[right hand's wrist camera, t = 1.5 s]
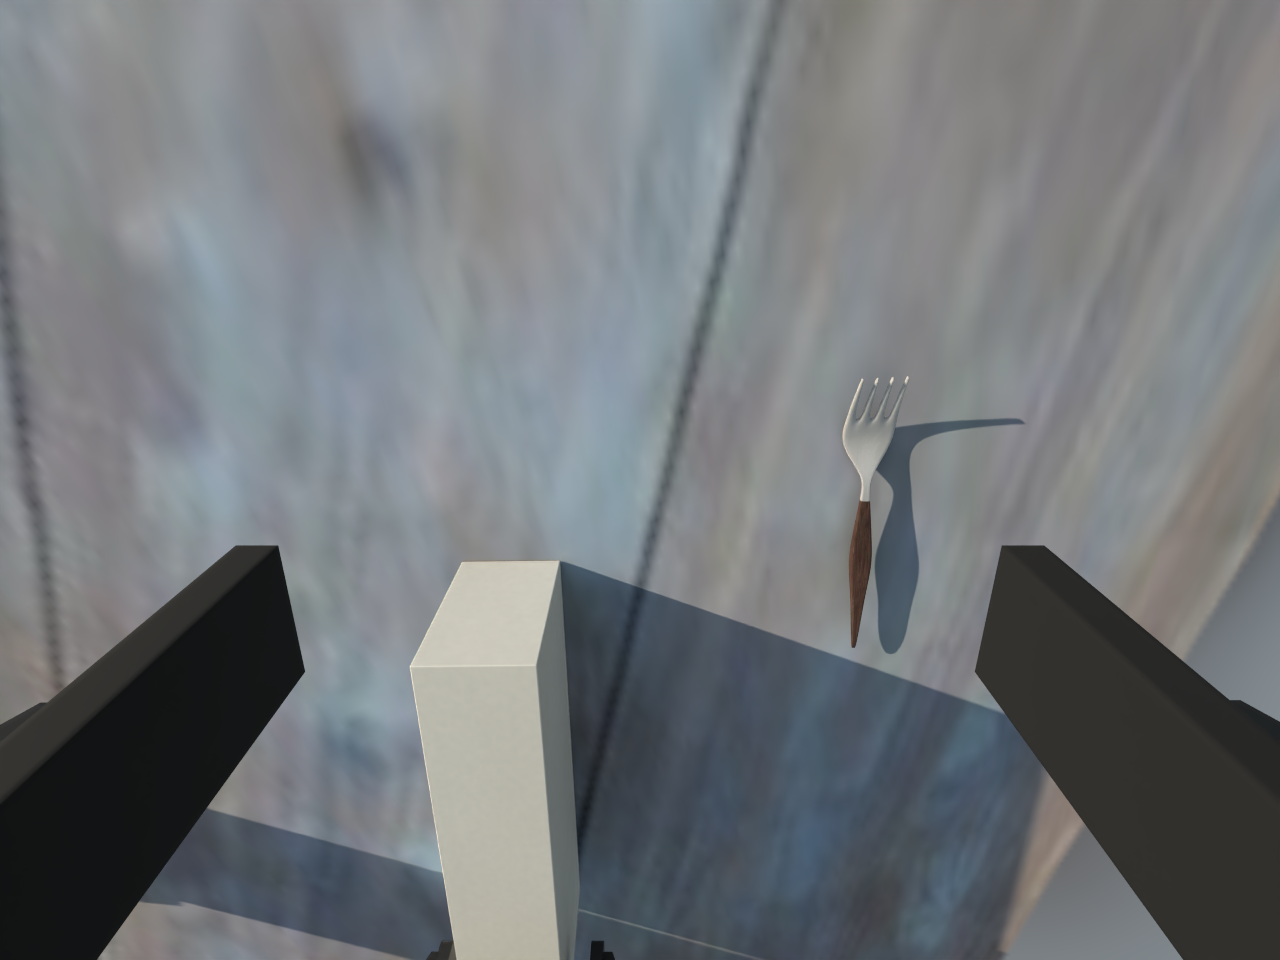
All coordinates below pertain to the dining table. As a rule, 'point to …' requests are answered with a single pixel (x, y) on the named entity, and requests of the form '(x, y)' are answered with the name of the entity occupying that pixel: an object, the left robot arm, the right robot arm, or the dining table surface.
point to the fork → (866, 486)
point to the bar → (502, 760)
